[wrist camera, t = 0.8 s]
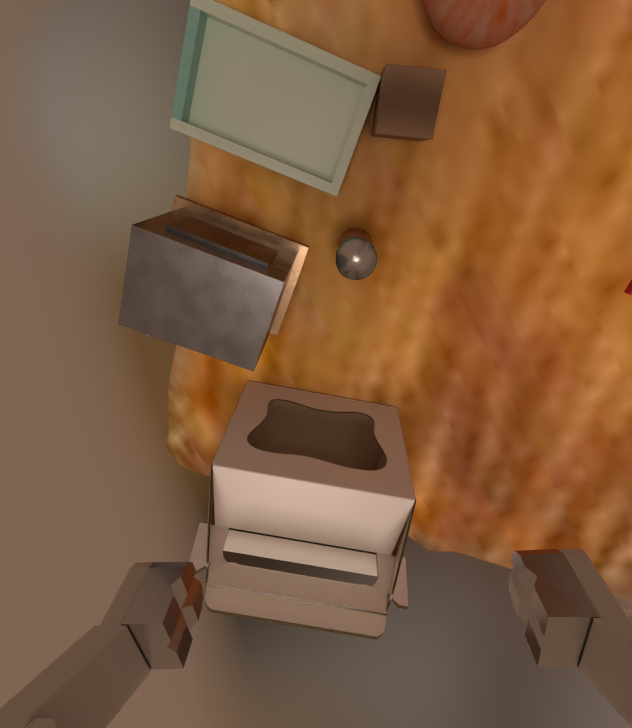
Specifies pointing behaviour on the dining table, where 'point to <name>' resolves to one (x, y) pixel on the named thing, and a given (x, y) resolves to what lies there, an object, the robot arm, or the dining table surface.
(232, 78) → the tray
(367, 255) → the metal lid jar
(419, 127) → the walnut block
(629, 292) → the bracket
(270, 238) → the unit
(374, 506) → the gable box
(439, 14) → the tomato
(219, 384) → the dining table surface
